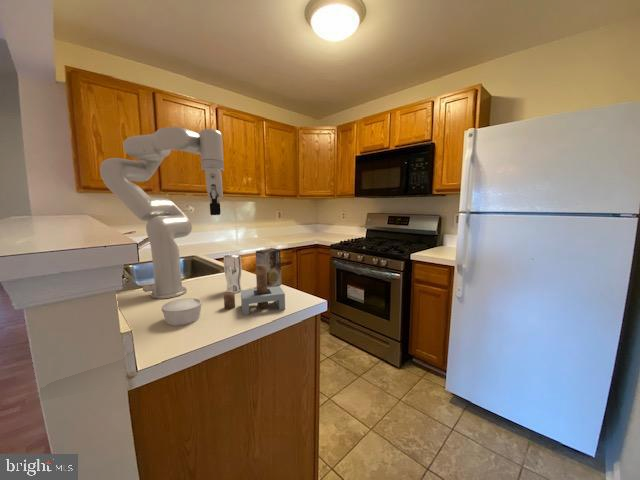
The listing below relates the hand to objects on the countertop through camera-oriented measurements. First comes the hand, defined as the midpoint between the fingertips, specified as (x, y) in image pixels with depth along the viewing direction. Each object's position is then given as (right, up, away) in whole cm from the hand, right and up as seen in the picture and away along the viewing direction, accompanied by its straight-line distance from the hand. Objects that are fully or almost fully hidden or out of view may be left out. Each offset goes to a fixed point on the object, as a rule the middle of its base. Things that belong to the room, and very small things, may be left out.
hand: (215, 214), depth 98 cm
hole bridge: (+18, -33, -4) cm, 38 cm away
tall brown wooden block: (+18, -33, -4) cm, 38 cm away
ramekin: (-5, -35, -13) cm, 38 cm away
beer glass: (+2, -31, +14) cm, 34 cm away
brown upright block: (+6, -33, -4) cm, 34 cm away
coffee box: (+16, -30, +20) cm, 39 cm away
